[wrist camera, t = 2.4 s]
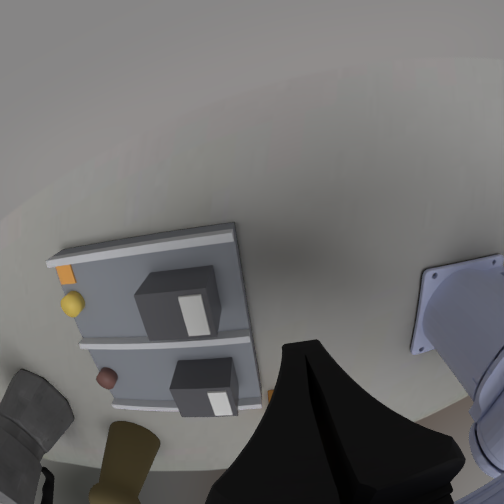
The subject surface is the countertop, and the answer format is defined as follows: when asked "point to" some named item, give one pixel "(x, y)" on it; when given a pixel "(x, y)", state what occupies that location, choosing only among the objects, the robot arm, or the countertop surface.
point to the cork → (124, 464)
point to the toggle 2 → (205, 387)
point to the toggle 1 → (180, 304)
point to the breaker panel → (129, 320)
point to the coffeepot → (29, 436)
